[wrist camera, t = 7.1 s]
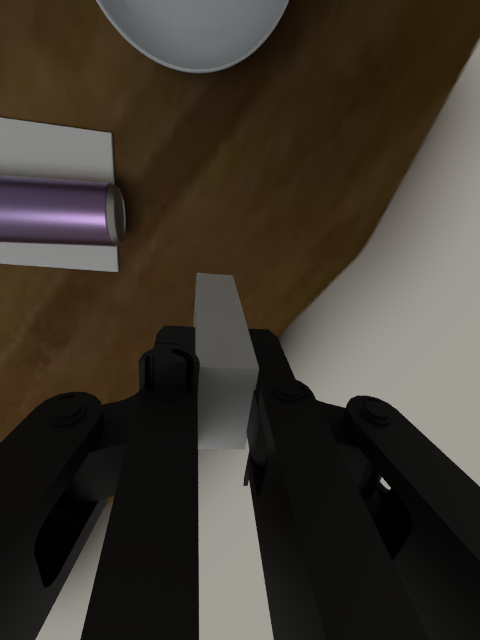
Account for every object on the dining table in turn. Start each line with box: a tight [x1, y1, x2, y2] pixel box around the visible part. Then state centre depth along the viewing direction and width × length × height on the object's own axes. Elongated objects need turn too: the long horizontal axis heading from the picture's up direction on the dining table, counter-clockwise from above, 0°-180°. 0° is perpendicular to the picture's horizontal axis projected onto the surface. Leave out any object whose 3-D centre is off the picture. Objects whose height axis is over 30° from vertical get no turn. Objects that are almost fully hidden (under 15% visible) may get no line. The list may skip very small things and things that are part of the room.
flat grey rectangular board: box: [0, 118, 119, 272], centre depth 33 cm, size 14×17×1 cm
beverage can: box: [0, 175, 126, 247], centre depth 31 cm, size 6×6×15 cm
